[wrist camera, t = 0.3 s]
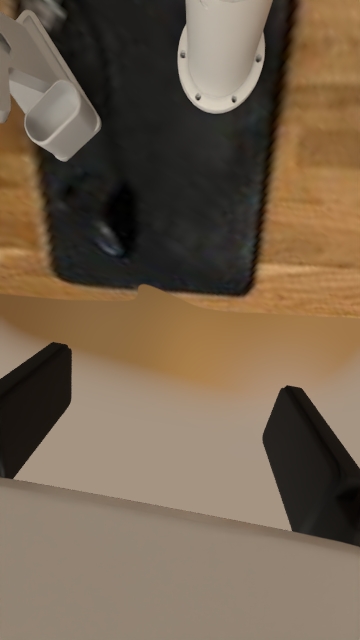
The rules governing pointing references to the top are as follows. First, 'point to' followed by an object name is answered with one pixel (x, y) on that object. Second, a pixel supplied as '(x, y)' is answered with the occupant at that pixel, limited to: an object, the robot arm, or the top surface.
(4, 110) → the phone holder
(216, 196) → the top surface
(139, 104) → the top surface
